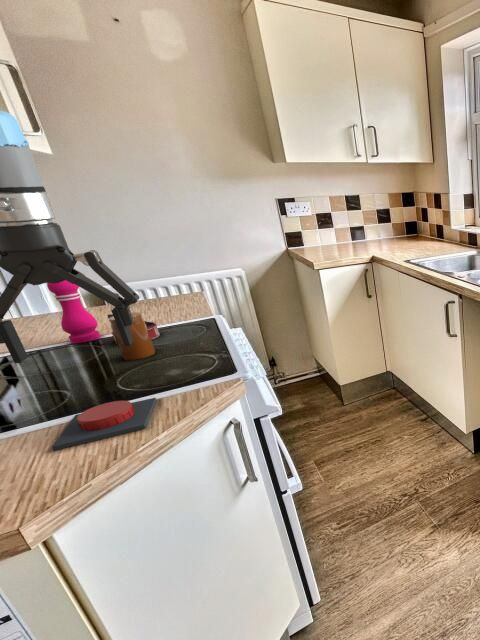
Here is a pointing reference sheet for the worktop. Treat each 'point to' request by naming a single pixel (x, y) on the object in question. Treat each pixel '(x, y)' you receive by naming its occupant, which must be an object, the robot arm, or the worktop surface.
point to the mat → (79, 436)
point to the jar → (134, 339)
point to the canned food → (150, 327)
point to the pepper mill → (74, 313)
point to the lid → (105, 415)
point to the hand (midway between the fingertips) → (78, 351)
